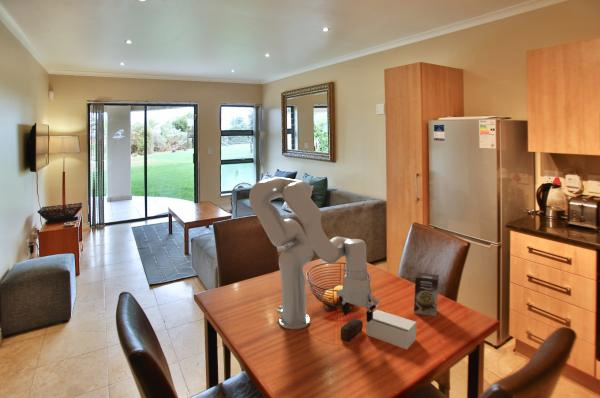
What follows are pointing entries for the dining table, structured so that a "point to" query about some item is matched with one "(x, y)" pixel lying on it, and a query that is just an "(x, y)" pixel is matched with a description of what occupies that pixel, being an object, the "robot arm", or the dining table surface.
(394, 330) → the step
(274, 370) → the dining table surface
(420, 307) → the coffee box
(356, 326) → the brick
